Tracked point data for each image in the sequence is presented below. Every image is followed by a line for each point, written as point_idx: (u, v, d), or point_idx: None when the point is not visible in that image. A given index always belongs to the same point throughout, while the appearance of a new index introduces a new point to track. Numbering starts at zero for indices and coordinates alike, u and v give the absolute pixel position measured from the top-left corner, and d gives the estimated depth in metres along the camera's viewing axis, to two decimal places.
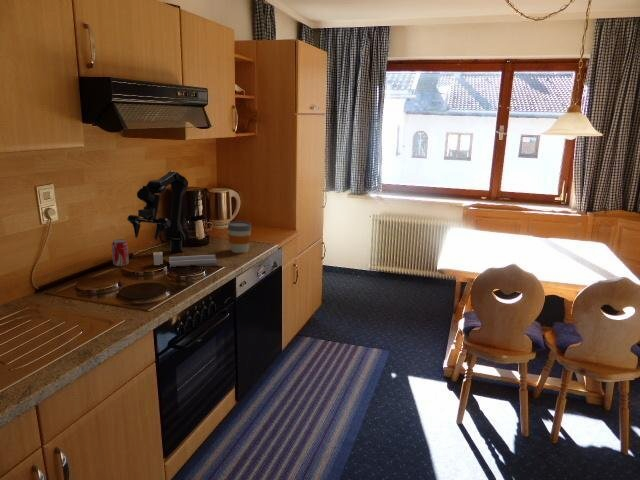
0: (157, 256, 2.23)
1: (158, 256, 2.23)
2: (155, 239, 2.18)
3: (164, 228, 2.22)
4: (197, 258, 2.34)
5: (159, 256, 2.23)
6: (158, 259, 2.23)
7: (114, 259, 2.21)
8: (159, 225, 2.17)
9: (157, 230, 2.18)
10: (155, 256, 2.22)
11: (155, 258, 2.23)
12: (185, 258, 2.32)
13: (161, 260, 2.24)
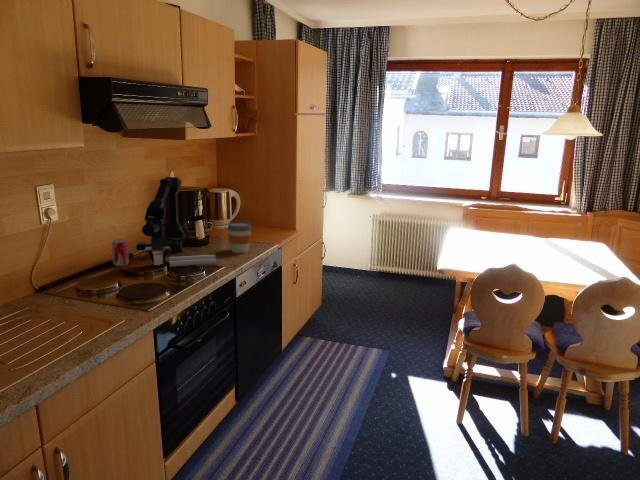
0: (157, 256, 2.23)
1: (158, 256, 2.23)
2: (163, 262, 2.27)
3: None
4: (197, 258, 2.34)
5: (159, 256, 2.23)
6: (158, 259, 2.23)
7: (114, 259, 2.21)
8: (166, 251, 2.23)
9: (164, 255, 2.25)
10: (155, 256, 2.22)
11: (155, 258, 2.23)
12: (185, 258, 2.32)
13: (161, 260, 2.24)
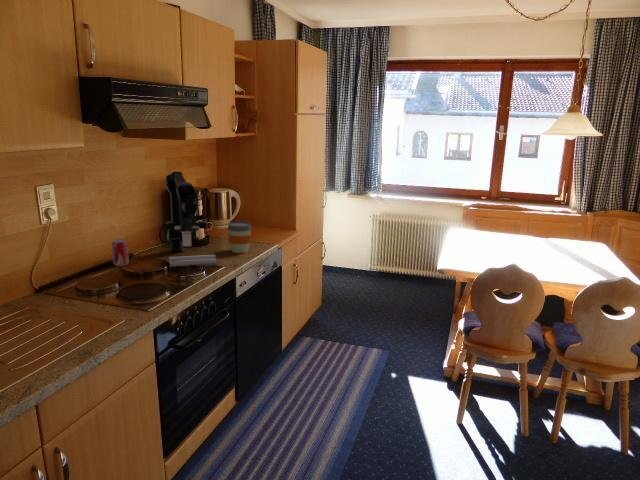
0: (186, 235, 2.24)
1: (187, 235, 2.24)
2: None
3: None
4: (197, 258, 2.34)
5: (188, 235, 2.24)
6: (187, 238, 2.24)
7: (114, 259, 2.21)
8: (195, 230, 2.24)
9: (193, 234, 2.26)
10: (184, 235, 2.23)
11: (184, 237, 2.24)
12: (185, 258, 2.32)
13: (190, 239, 2.25)
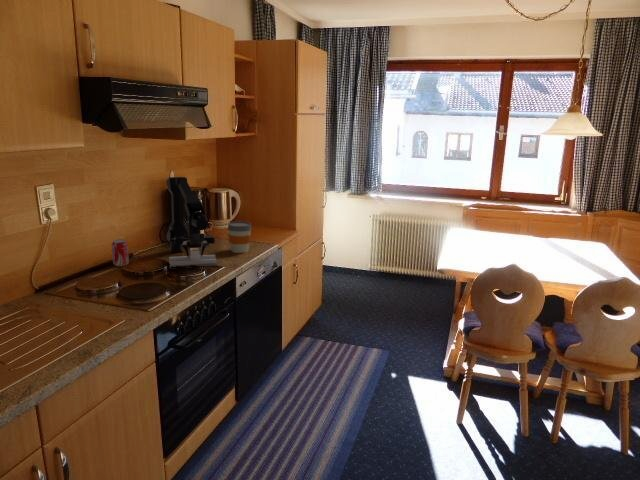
0: (194, 252, 2.27)
1: (195, 252, 2.27)
2: (201, 256, 2.31)
3: None
4: None
5: (196, 252, 2.27)
6: (195, 255, 2.27)
7: (114, 259, 2.21)
8: (205, 245, 2.28)
9: (203, 249, 2.29)
10: (192, 252, 2.26)
11: (192, 254, 2.27)
12: (185, 258, 2.32)
13: (198, 256, 2.28)
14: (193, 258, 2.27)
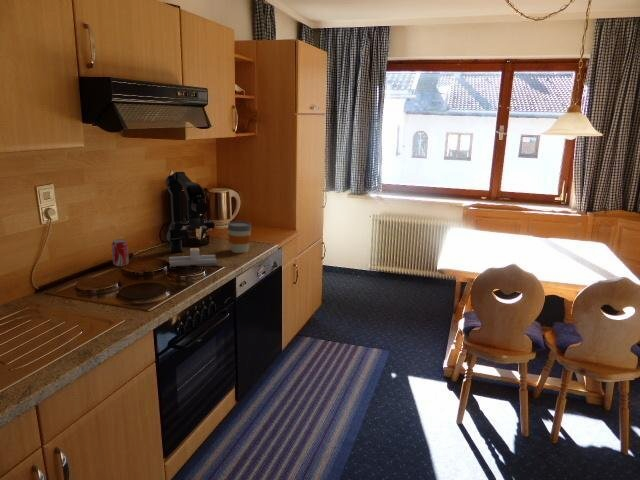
0: (194, 252, 2.27)
1: (195, 252, 2.27)
2: None
3: None
4: None
5: (196, 252, 2.27)
6: (195, 255, 2.27)
7: (114, 259, 2.21)
8: (205, 230, 2.26)
9: (202, 234, 2.27)
10: (192, 252, 2.26)
11: (192, 254, 2.27)
12: (185, 258, 2.32)
13: (198, 256, 2.28)
14: (193, 258, 2.27)
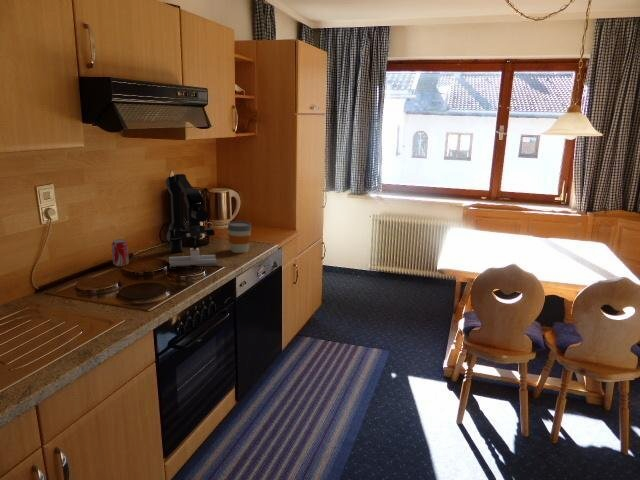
0: (194, 252, 2.27)
1: (195, 252, 2.27)
2: (195, 249, 2.29)
3: None
4: None
5: (196, 252, 2.27)
6: (195, 255, 2.27)
7: (114, 259, 2.21)
8: (199, 237, 2.26)
9: (196, 241, 2.27)
10: (192, 252, 2.26)
11: (192, 254, 2.27)
12: (185, 258, 2.32)
13: (198, 256, 2.28)
14: (193, 258, 2.27)
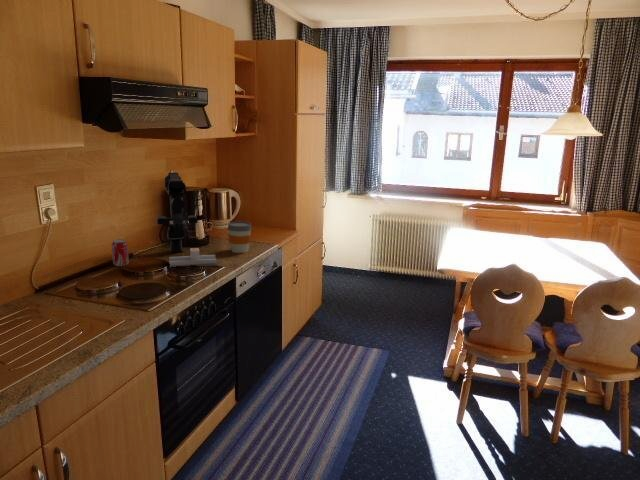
0: (194, 252, 2.27)
1: (195, 252, 2.27)
2: (178, 236, 2.34)
3: None
4: None
5: (196, 252, 2.27)
6: (195, 255, 2.27)
7: (114, 259, 2.21)
8: (182, 225, 2.31)
9: (179, 229, 2.32)
10: (192, 252, 2.26)
11: (192, 254, 2.27)
12: (185, 258, 2.32)
13: (198, 256, 2.28)
14: (193, 258, 2.27)
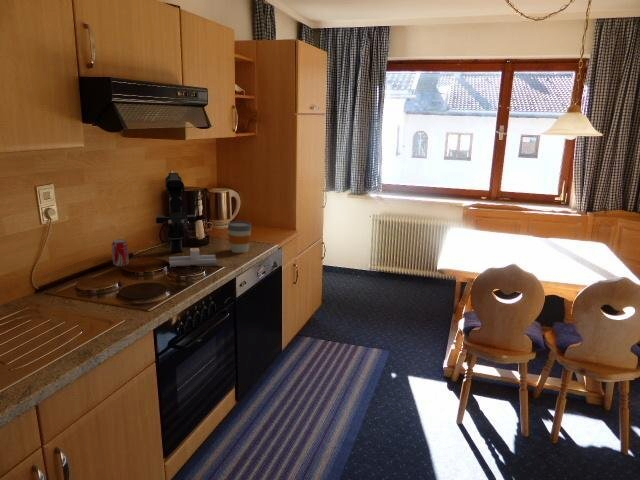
0: (194, 252, 2.27)
1: (195, 252, 2.27)
2: (177, 236, 2.34)
3: None
4: None
5: (196, 252, 2.27)
6: (195, 255, 2.27)
7: (114, 259, 2.21)
8: (180, 224, 2.31)
9: (178, 228, 2.33)
10: (192, 252, 2.26)
11: (192, 254, 2.27)
12: (185, 258, 2.32)
13: (198, 256, 2.28)
14: (193, 258, 2.27)
